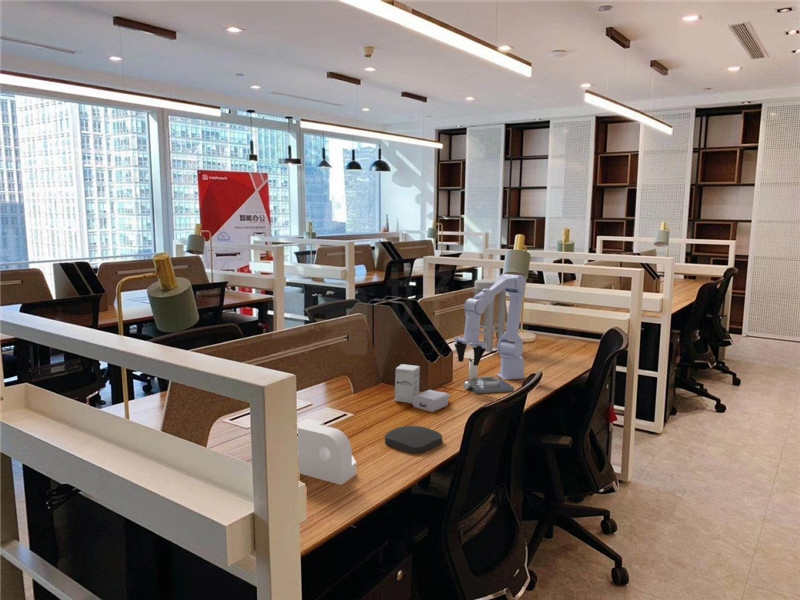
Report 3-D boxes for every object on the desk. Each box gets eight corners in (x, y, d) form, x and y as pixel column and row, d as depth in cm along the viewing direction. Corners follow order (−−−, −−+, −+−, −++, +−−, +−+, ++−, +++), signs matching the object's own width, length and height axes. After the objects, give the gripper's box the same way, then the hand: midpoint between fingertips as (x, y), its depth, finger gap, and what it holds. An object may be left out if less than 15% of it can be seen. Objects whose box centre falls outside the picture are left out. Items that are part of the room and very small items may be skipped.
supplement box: (394, 401, 219) (394, 368, 217) (401, 395, 226) (401, 363, 224) (413, 404, 217) (413, 370, 215) (419, 398, 224) (420, 365, 222)
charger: (457, 402, 220) (433, 412, 208) (437, 397, 226) (412, 407, 214) (457, 390, 219) (433, 399, 208) (437, 385, 225) (412, 394, 213)
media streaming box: (417, 457, 171) (417, 447, 170) (379, 443, 180) (379, 434, 180) (447, 442, 182) (447, 433, 181) (410, 430, 191) (410, 421, 191)
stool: (485, 343, 319) (488, 278, 314) (509, 348, 308) (512, 281, 303) (466, 347, 309) (468, 280, 304) (490, 353, 298) (492, 283, 293)
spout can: (475, 377, 254) (476, 356, 252) (478, 379, 250) (479, 358, 249) (466, 377, 253) (466, 356, 251) (469, 380, 249) (470, 359, 248)
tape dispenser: (291, 471, 160) (291, 426, 158) (315, 457, 169) (315, 414, 167) (341, 485, 152) (341, 438, 150) (363, 470, 161) (363, 425, 159)
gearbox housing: (500, 382, 247) (500, 373, 246) (513, 391, 234) (514, 382, 234) (459, 384, 242) (459, 376, 242) (471, 394, 230) (471, 385, 229)
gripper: (451, 326, 236) (447, 360, 237) (480, 332, 225) (476, 367, 226) (462, 326, 241) (458, 359, 242) (491, 331, 230) (487, 366, 231)
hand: (468, 363), depth 234 cm, fingers open, 7 cm apart
